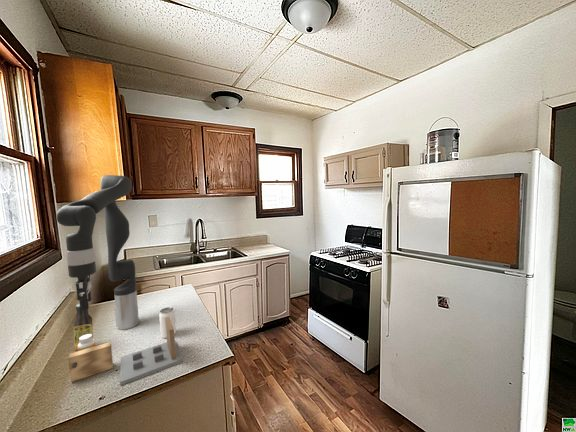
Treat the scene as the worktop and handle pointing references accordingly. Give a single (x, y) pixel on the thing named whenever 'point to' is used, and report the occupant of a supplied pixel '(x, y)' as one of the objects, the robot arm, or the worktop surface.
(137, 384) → the worktop surface
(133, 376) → the grey and brown stand
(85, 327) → the sauce bottle
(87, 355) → the long tan wooden block
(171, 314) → the can
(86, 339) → the supplement bottle
